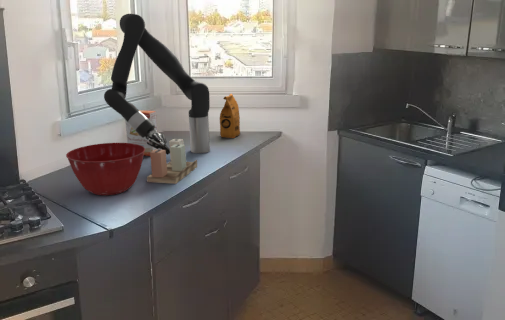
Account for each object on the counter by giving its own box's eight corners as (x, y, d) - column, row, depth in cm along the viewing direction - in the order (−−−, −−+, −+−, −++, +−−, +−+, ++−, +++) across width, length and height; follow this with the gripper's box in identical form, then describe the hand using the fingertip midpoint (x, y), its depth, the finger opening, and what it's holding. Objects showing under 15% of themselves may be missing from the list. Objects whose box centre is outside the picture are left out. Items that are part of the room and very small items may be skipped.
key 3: (152, 176, 203) (150, 151, 200) (157, 173, 207) (155, 148, 204) (162, 177, 202) (160, 152, 199) (167, 173, 206) (165, 149, 203)
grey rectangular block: (170, 163, 220) (169, 140, 217) (175, 161, 224) (173, 138, 221) (180, 164, 219) (179, 141, 216) (184, 161, 223) (183, 138, 220)
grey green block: (172, 170, 210) (170, 146, 207) (176, 167, 214) (174, 143, 211) (182, 171, 209) (180, 147, 206) (186, 168, 213) (184, 144, 210)
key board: (175, 183, 201) (175, 176, 200) (147, 181, 204) (146, 174, 203) (197, 166, 222) (197, 159, 221) (171, 165, 225) (170, 158, 224)
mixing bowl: (110, 174, 215) (107, 138, 210) (163, 184, 201) (160, 146, 196) (55, 195, 192) (49, 155, 187) (110, 208, 177) (105, 165, 173)
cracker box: (127, 154, 245) (123, 111, 239) (135, 151, 250) (131, 109, 244) (152, 156, 240) (149, 112, 234) (159, 153, 245) (156, 110, 239)
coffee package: (217, 137, 273) (215, 96, 267) (225, 132, 284) (224, 93, 278) (234, 138, 270) (233, 97, 263) (242, 133, 281) (241, 93, 275)
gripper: (139, 121, 213) (168, 151, 213) (153, 115, 225) (181, 143, 226) (129, 133, 216) (157, 163, 216) (143, 126, 228) (170, 154, 229)
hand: (169, 153), depth 221 cm, fingers closed
